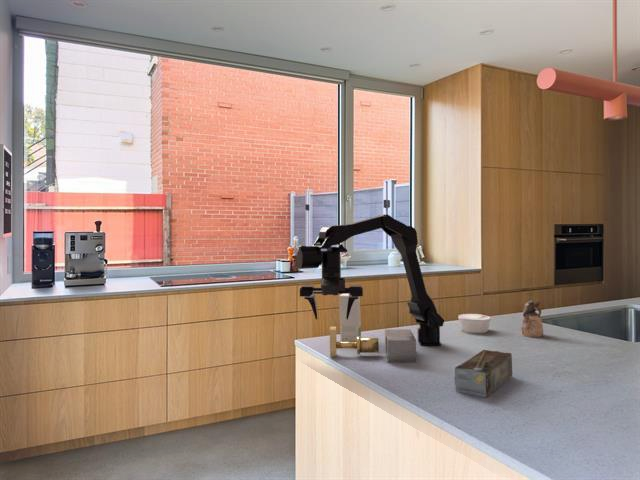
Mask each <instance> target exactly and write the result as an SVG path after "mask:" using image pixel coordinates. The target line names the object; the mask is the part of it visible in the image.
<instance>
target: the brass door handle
mask: <svg viewBox="0 0 640 480" xmlns="http://www.w3.org/2000/svg"><path fill="white" fill-rule="evenodd" d="M338 349H340V350H343V349H345V350H346V349H347V350H349V349H352V350H355V349H357V352H356V353H357V355H361V354H367V353H368V354H370V353H371V354H372V353H373V354H374V353H375V354H379V350H380V347H379V337H361V338H360V336H357V342H344V341H337V326H330V327H329V357H337V353H338V351H337V350H338Z"/></svg>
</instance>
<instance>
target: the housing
mask: <svg viewBox="0 0 640 480" xmlns="http://www.w3.org/2000/svg"><path fill="white" fill-rule="evenodd" d="M384 351H385V356H386V360H387V364H390V363H392V364H393V363H394V364H395V363H396V364H397V363H398V364H399V363H400V364H402V363H403V364H404V363H406V364H408V363H409V364H411V363H413V364H414V363H416V364H417V339H416V337H415V336H414V332H413V331H412V330H411V329H409V328H407V329H384Z"/></svg>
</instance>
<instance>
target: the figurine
mask: <svg viewBox="0 0 640 480" xmlns="http://www.w3.org/2000/svg"><path fill="white" fill-rule="evenodd" d="M540 304H541V302H540V301H539V300H538V301H536V302H534V301H533V300H530V301H529V300H528V301H527V302H526V303H525V304H524V307H523V308H522V316H523V319H522V325H521V330H520V331H521V332H520V334H521V336H523V337H528V338H541V337H543V336H544V327H543V325H544V324H543V322H542V318H541V314H542V308H541V307H540ZM536 311H538V312H536Z"/></svg>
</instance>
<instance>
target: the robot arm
mask: <svg viewBox="0 0 640 480" xmlns="http://www.w3.org/2000/svg"><path fill="white" fill-rule="evenodd" d="M379 229H381V230H382V231H383V232H384V233H385V234H386V235H388V236H389V237H390V238H391V240H392V242H393V246H394V247H395V248H396V250H397V251H398V252H399V254H400V255H401V259H402V263H403V266H404V271H405V274H406V279H407V283H408V285H409V289H410V293H411V294H410V295H411V299H410V301H407V302H406V303H407V306H408V309H409V314H411V316H412V317H413V318H414V320H415V323H416V324H418V328H417V329H416V330H417V332H416V333H417V342H418V343H419V345H420V346H441V345H442V343H441V337H440V336H441V335H440V334H441V330H440V329H441V327H443V326H444V323H445V319H444V318H443V317H442V316H441V315H440V314H439V313H438V311H437V307H436V305H435V303H434V301H433V299H432V298H431V297H430V295H429V294H428V292H427V288H426V286H425V281H424V278H423V272H422V270H421V266H420V262H419V259H418V254H417V248H418V244H419V243H418V242H419V240H418V233H417V230H416V228H415V227H413V226H412V225H406V224H405V223H403V222H402V221H399V220H397V219H395V218H394V217H392V216H391V215H390V214H378V215H377V216H374V217H370V218H366V219H362V220H359V221H354V222H351V223H347V224H338V225H336V224H335V225H324V226H323V227H321V228H320V230H319V233H318V236H317V238H316V240H315V242H314V243H313V244H312V245H307V246H306V245H298V250H297V253H296V256H295V262H296V267H297V268H298V270H301V269H302V270H305V269H306V270H307V269H318V268H319V267H320V266H321V280H320V287H315V284H303V285H302V286H301V287H300V288H299V297H303V298H304V300H307V301H308V303H309V305H310V306H311V309H312V312H313V314H314V318H315V320H318V307H317V297H316V294H317V295H319V294H321V295H323V296H331V295H332V296H338V295H339V294H340V295H341V294H349V298H348V306H347V314H346V319H348V317H349V314H350V310H351V307H352V305H353V302H354V300H355V299H358V296H360V297H363V296H364V293H363V291H364V288H363V286H362V284H349V287H346V278H345V277H342V268H341V267H342V263H341V262H342V260H341V259H342V258H341V253H348V249H347V248H345V247H344V245H343V244H342V243H344V242H346V241H348V239H351V238H352V237H354V236H358V235H361V234H365V233H368V232H373V231H376V230H379Z"/></svg>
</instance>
